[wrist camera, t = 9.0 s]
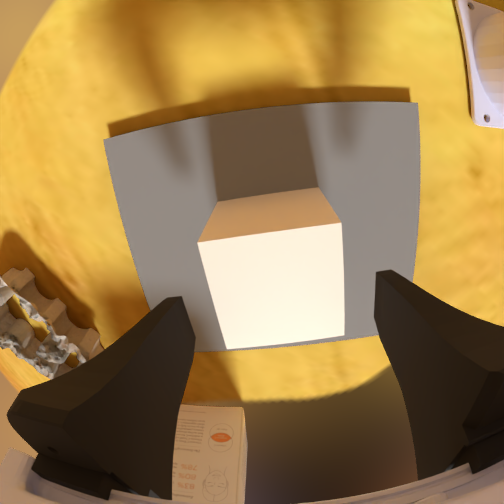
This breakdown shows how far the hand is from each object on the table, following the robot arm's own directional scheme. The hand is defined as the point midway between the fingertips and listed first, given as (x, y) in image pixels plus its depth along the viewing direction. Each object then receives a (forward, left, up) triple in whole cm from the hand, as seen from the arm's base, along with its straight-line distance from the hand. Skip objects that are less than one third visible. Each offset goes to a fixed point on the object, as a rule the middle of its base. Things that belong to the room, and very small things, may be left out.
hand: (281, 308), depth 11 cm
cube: (0, 0, -6) cm, 6 cm away
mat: (0, 0, -6) cm, 6 cm away
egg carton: (+18, +5, -7) cm, 20 cm away
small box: (+8, +17, -7) cm, 20 cm away
